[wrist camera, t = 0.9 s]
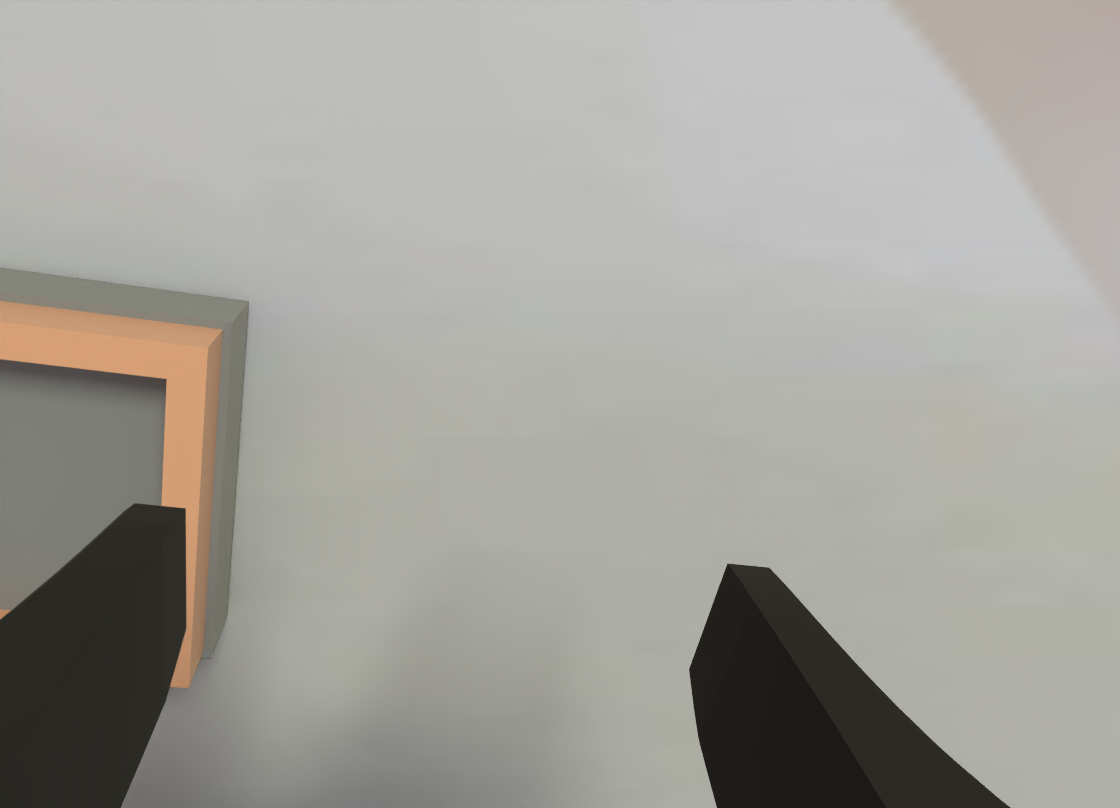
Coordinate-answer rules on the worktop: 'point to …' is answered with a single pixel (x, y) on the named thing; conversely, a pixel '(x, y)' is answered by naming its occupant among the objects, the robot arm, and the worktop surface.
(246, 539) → the worktop surface
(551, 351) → the worktop surface
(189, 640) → the base
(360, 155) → the worktop surface
